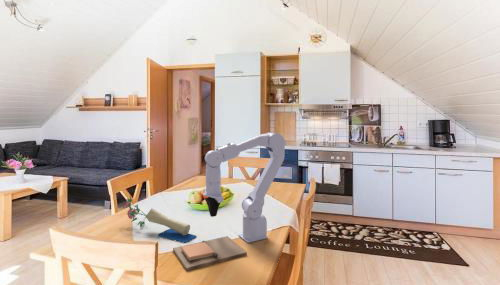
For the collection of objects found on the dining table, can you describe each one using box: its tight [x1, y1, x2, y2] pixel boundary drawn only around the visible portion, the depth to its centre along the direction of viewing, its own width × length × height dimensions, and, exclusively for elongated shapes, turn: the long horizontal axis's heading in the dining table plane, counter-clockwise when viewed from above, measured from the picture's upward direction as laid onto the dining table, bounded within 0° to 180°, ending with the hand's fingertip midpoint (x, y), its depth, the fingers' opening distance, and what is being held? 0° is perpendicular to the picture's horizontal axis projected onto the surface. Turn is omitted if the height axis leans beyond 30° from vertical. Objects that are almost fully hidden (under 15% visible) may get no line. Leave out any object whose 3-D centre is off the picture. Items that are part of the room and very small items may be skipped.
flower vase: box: [125, 195, 191, 236], centre depth 126 cm, size 12×12×35 cm
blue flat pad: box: [158, 228, 197, 244], centre depth 118 cm, size 7×1×15 cm
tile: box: [181, 242, 214, 261], centre depth 101 cm, size 9×9×1 cm
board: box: [172, 235, 248, 272], centre depth 104 cm, size 22×16×2 cm
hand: (213, 215), depth 112 cm, fingers closed
